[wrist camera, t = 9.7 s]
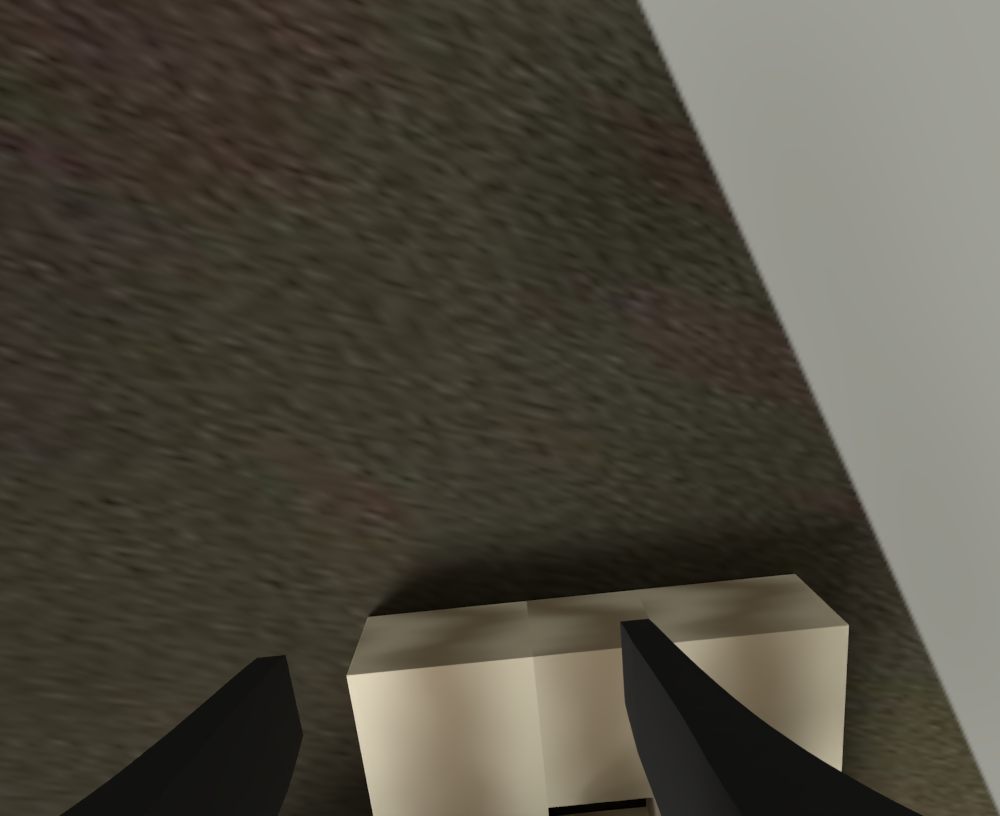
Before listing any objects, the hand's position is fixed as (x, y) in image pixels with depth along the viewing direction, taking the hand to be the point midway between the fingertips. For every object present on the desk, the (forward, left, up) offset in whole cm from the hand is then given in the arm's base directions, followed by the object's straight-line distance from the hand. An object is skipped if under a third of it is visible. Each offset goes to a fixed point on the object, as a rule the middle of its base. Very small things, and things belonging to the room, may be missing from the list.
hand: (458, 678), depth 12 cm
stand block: (+4, -14, -10) cm, 18 cm away
